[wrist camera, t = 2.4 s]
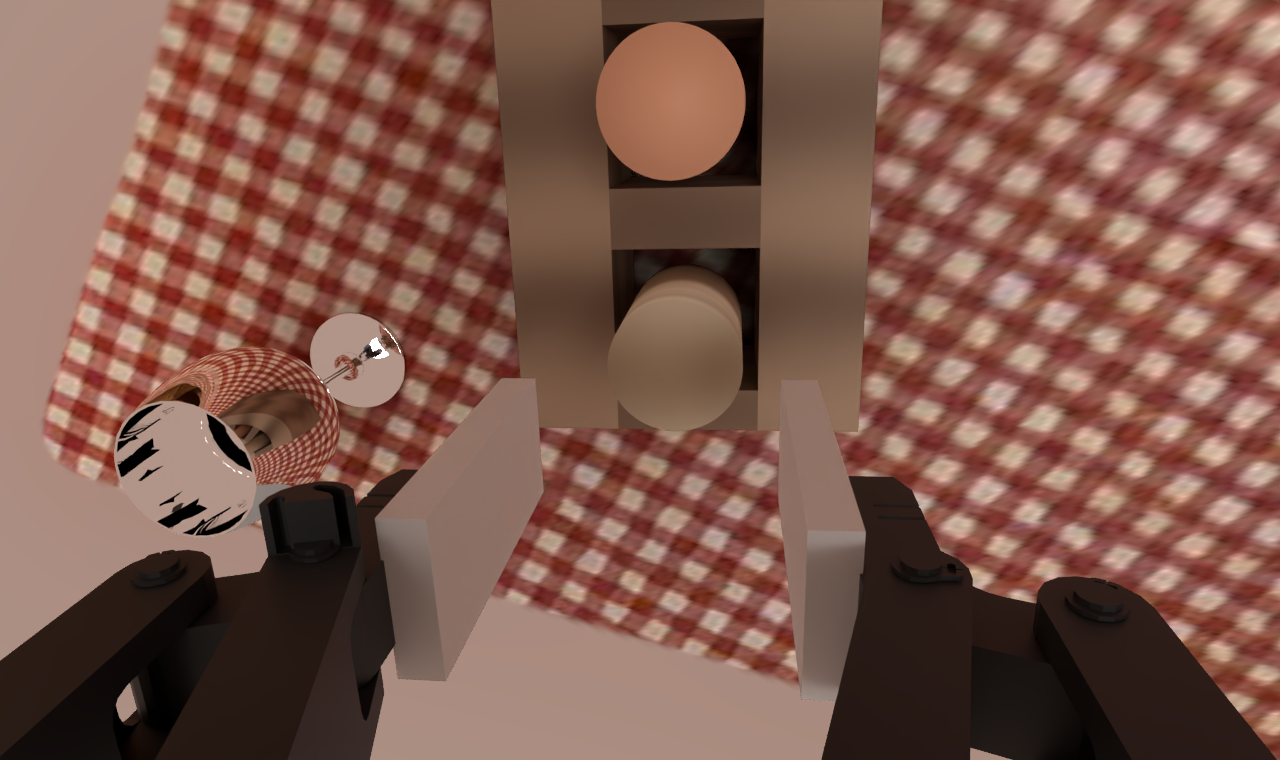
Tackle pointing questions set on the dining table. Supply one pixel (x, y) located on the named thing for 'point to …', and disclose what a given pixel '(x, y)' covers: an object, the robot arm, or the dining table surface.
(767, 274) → the walnut socket block
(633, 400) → the beech plug
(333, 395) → the wineglass
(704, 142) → the rust plug
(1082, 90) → the dining table surface
